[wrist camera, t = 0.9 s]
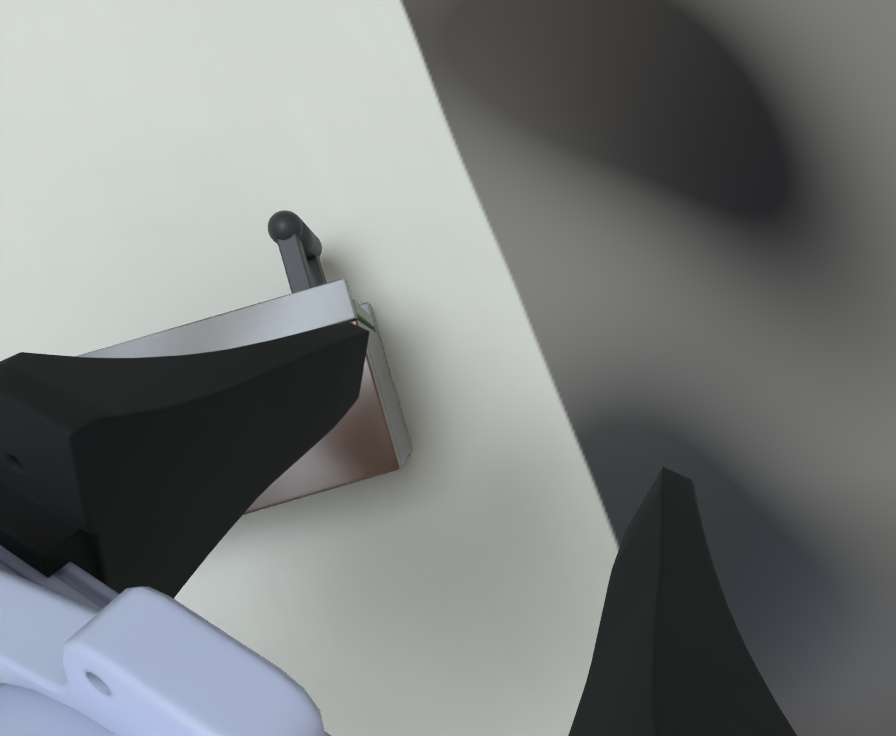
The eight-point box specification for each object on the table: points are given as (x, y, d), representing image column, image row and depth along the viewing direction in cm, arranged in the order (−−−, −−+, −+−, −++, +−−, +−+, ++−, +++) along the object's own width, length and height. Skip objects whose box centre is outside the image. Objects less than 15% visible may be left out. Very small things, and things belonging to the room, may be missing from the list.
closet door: (241, 365, 29) (191, 360, 24) (214, 268, 29) (159, 240, 24) (374, 326, 29) (356, 312, 24) (347, 229, 29) (322, 193, 24)
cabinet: (161, 523, 30) (68, 566, 23) (121, 376, 30) (17, 372, 23) (412, 450, 30) (399, 470, 23) (370, 304, 30) (344, 277, 23)
